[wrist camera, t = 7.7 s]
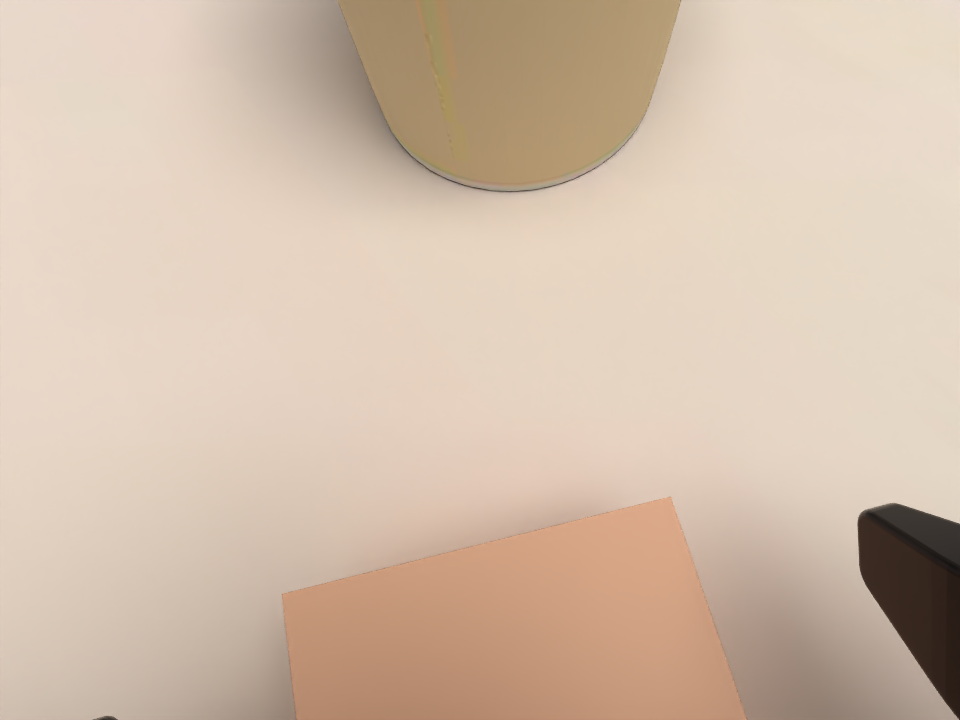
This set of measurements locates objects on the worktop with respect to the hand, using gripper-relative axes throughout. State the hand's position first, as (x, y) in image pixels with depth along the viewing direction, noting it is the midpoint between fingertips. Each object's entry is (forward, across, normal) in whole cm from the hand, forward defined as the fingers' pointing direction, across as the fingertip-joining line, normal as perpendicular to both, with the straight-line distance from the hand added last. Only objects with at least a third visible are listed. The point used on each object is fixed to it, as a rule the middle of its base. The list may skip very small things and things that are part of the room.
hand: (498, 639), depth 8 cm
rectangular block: (+4, 0, +6) cm, 7 cm away
